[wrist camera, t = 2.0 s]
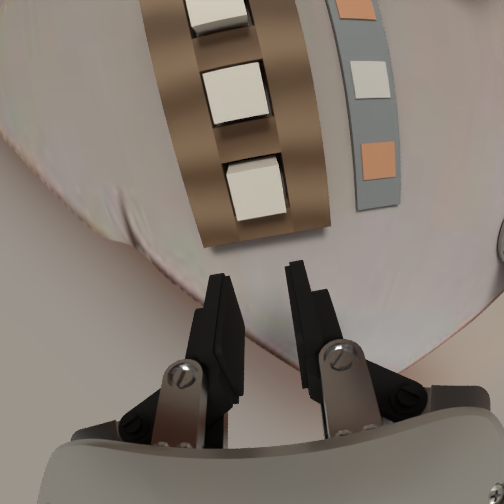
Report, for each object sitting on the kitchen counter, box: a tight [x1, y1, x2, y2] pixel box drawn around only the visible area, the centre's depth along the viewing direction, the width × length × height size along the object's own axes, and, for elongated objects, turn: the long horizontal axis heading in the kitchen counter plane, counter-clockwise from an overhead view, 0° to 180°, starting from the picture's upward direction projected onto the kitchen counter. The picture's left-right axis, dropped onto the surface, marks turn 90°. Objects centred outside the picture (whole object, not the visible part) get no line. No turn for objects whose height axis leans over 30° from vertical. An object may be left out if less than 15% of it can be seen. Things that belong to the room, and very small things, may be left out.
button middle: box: [203, 62, 269, 124], centre depth 19 cm, size 4×4×4 cm
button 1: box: [186, 0, 248, 36], centre depth 15 cm, size 4×4×4 cm
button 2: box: [226, 155, 286, 221], centre depth 23 cm, size 4×4×4 cm
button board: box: [139, 0, 331, 248], centre depth 21 cm, size 26×12×3 cm, turn 11°
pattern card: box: [325, 0, 401, 210], centre depth 20 cm, size 26×5×1 cm, turn 11°
